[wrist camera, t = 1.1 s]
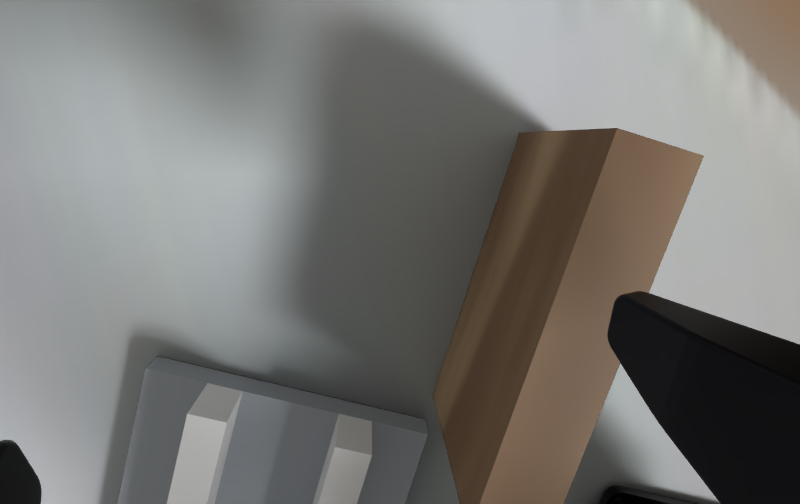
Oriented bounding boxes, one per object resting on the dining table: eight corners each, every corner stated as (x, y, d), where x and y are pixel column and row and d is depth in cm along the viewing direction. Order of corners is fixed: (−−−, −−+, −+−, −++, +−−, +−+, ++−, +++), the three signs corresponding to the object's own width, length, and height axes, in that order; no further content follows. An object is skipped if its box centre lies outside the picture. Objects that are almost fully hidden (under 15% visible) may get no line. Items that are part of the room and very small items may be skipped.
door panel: (573, 149, 18) (703, 156, 11) (482, 406, 19) (544, 551, 13) (519, 132, 17) (616, 128, 10) (432, 394, 19) (467, 535, 12)
